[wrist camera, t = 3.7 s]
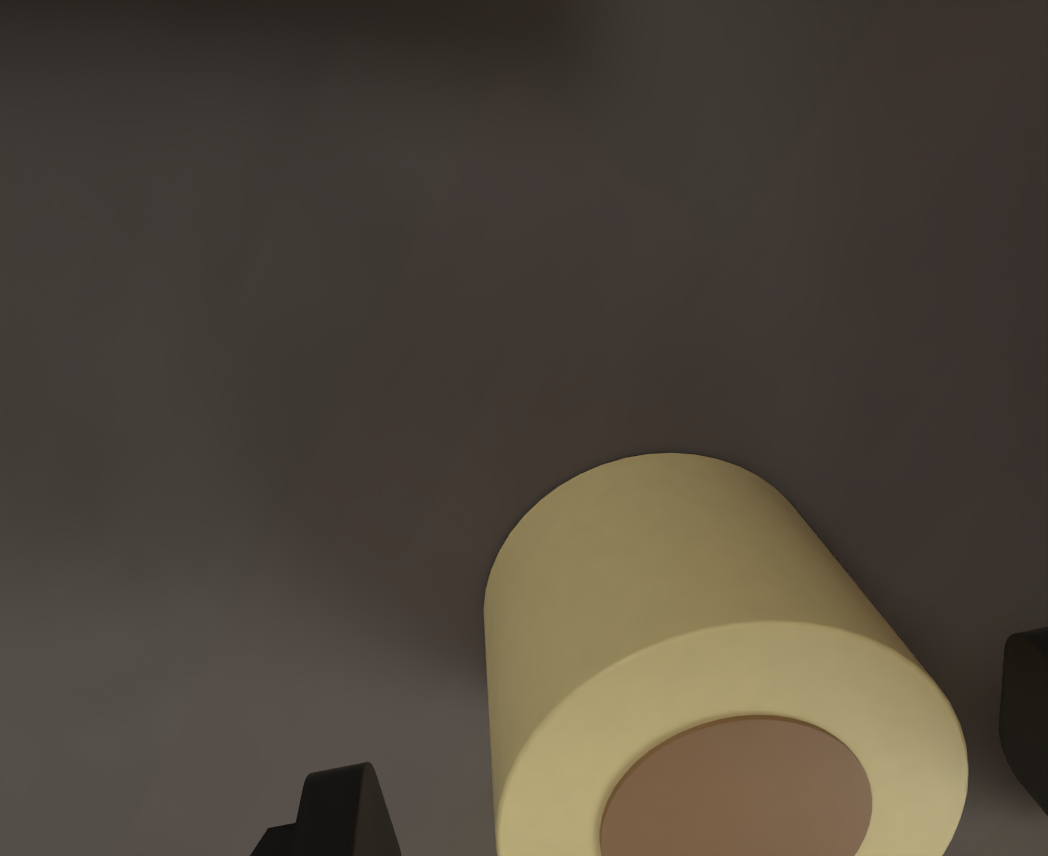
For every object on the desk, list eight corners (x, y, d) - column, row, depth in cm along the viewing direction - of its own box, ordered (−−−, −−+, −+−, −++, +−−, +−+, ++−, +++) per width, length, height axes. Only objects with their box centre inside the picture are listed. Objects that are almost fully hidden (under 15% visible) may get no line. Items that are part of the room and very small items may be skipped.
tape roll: (847, 676, 15) (1002, 908, 10) (549, 777, 15) (585, 1040, 11) (776, 400, 12) (935, 554, 8) (430, 524, 13) (418, 731, 9)
